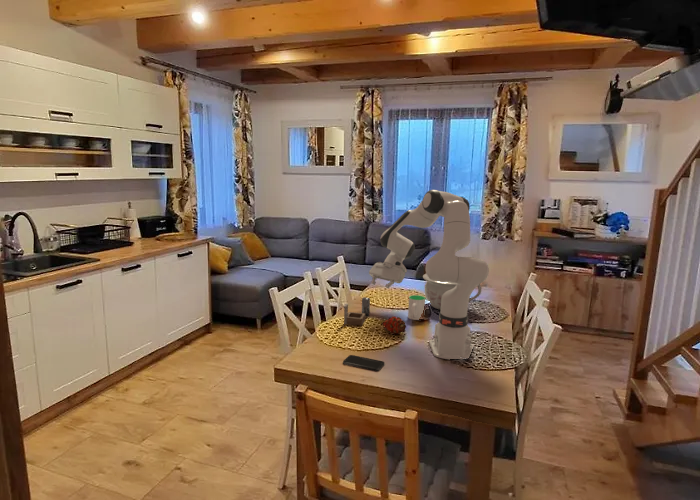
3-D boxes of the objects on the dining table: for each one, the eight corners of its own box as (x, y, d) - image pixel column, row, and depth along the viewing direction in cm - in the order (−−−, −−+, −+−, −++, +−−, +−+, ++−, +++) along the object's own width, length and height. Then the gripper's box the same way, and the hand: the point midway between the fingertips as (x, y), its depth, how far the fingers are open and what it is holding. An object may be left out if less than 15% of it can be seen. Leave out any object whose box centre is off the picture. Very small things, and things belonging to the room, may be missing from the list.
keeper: (361, 327, 214) (361, 307, 212) (343, 325, 216) (343, 305, 214) (365, 320, 224) (365, 300, 222) (348, 318, 226) (348, 299, 224)
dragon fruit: (407, 339, 204) (382, 338, 210) (411, 324, 210) (387, 323, 215) (401, 328, 199) (376, 327, 205) (406, 313, 204) (381, 312, 210)
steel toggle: (368, 317, 228) (369, 300, 226) (360, 316, 229) (361, 299, 227) (370, 314, 232) (370, 297, 230) (362, 313, 233) (362, 297, 231)
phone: (378, 369, 169) (342, 361, 175) (378, 372, 169) (341, 364, 175) (385, 361, 176) (350, 354, 182) (385, 364, 176) (350, 356, 182)
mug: (421, 323, 221) (422, 303, 219) (405, 321, 224) (406, 301, 222) (425, 315, 232) (426, 296, 230) (409, 313, 235) (410, 294, 233)
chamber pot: (411, 302, 253) (413, 266, 249) (451, 297, 265) (453, 263, 261) (441, 318, 229) (443, 279, 225) (483, 312, 240) (487, 274, 236)
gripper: (374, 258, 245) (361, 278, 240) (405, 264, 232) (392, 286, 227) (379, 264, 250) (367, 285, 244) (409, 271, 236) (397, 293, 231)
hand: (379, 285), depth 235 cm, fingers open, 8 cm apart
